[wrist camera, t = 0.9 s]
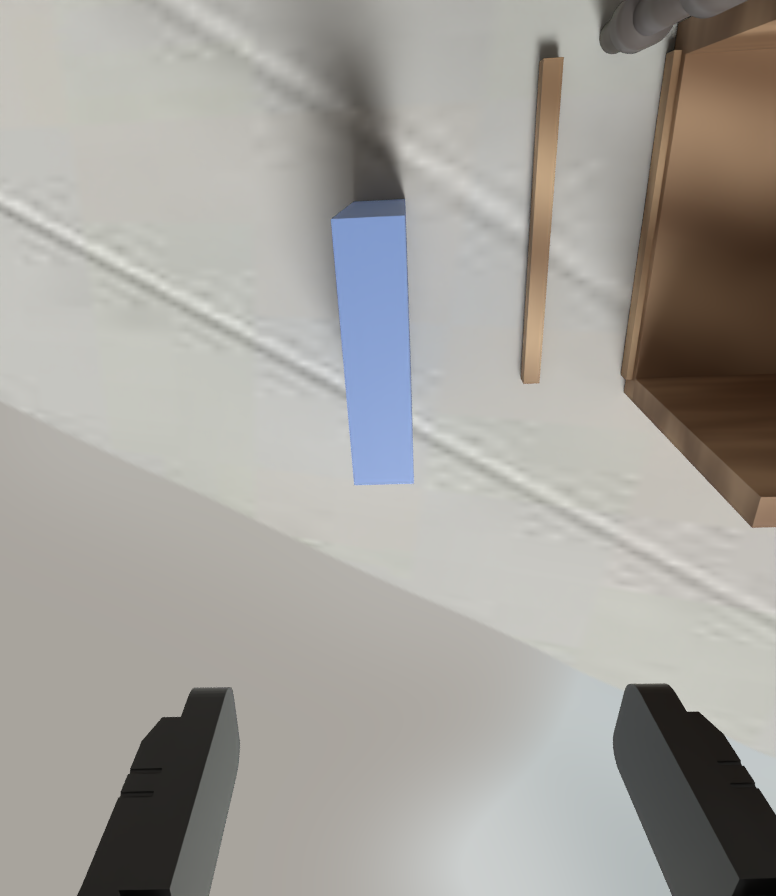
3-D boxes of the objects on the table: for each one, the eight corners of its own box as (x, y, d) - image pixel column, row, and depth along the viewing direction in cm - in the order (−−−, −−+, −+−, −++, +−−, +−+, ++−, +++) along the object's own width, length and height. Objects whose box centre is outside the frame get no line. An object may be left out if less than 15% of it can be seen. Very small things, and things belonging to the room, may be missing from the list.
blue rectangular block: (353, 201, 26) (330, 219, 18) (405, 198, 26) (404, 215, 18) (367, 401, 31) (354, 485, 23) (411, 399, 31) (413, 483, 23)
